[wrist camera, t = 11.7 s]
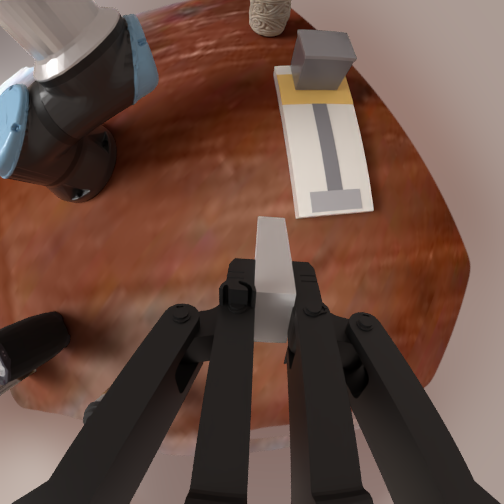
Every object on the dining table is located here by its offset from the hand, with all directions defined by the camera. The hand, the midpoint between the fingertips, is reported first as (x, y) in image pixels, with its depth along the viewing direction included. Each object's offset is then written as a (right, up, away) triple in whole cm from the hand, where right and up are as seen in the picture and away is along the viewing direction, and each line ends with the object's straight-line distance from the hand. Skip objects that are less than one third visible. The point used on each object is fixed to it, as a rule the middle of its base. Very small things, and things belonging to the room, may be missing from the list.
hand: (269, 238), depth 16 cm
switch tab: (+9, +28, +22) cm, 36 cm away
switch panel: (+10, +18, +26) cm, 33 cm away
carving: (+2, +43, +25) cm, 49 cm away
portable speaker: (-40, -16, +28) cm, 51 cm away
